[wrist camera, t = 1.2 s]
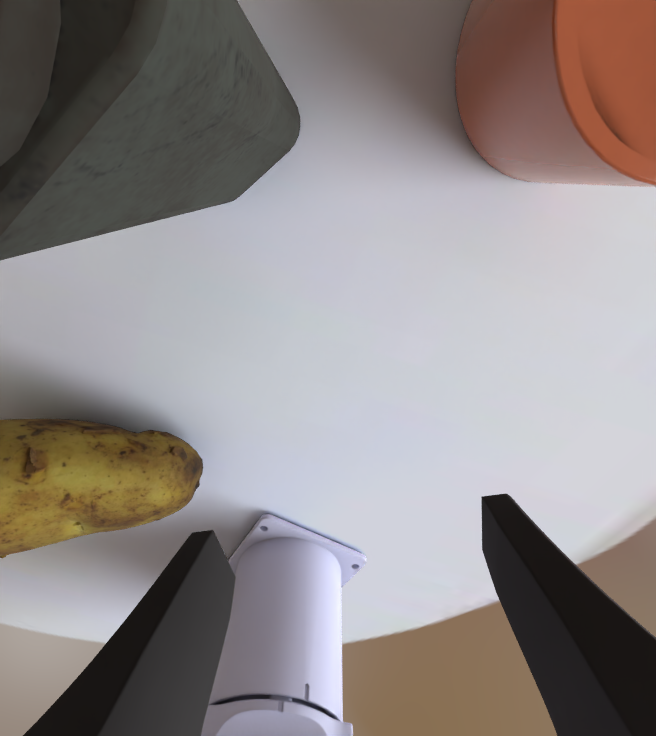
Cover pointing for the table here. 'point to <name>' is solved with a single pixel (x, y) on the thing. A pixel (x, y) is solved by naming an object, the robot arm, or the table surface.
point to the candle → (130, 115)
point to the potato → (87, 480)
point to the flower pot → (561, 89)
